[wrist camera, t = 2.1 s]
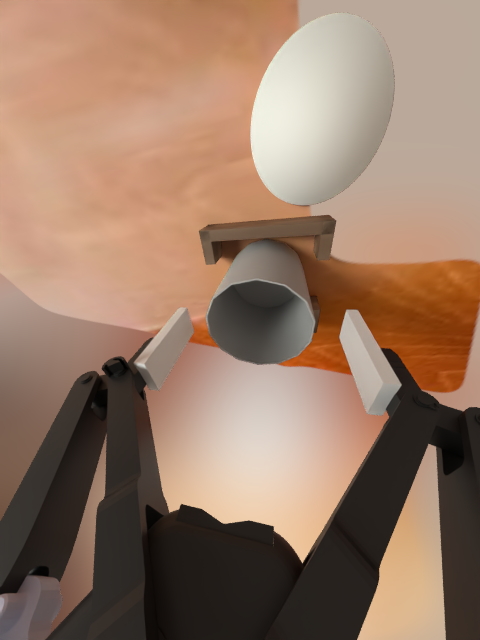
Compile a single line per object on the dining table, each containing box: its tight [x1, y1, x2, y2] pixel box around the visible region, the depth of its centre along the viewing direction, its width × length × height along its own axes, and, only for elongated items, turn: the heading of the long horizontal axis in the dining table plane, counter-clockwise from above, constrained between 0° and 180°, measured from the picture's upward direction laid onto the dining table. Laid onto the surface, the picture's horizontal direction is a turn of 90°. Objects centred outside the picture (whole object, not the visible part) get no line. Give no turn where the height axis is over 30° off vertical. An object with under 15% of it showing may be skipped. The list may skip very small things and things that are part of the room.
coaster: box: [251, 13, 394, 205], centre depth 15 cm, size 10×10×1 cm
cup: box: [206, 239, 315, 365], centre depth 19 cm, size 8×8×10 cm
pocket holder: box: [199, 215, 336, 333], centre depth 21 cm, size 12×12×3 cm
